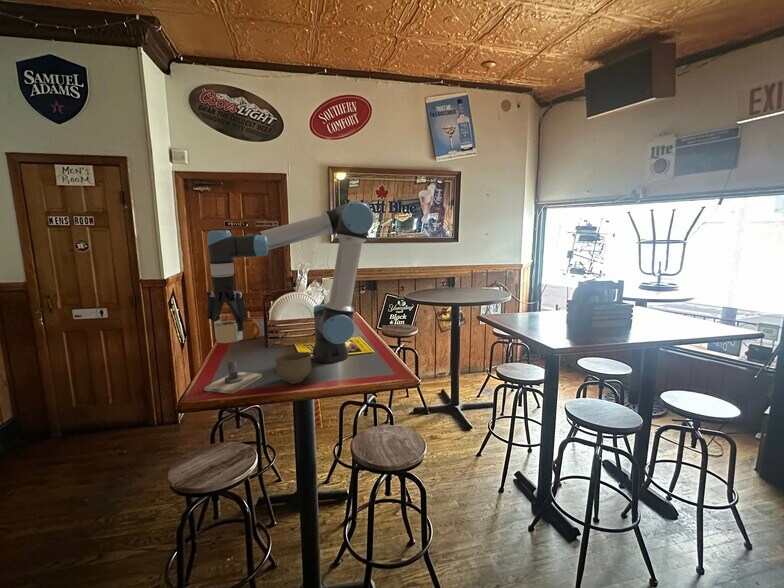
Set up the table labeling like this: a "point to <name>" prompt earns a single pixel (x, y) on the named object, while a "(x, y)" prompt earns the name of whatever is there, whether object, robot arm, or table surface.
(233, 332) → the collar
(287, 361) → the bowl
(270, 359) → the table surface
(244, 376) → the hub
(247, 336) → the mug
